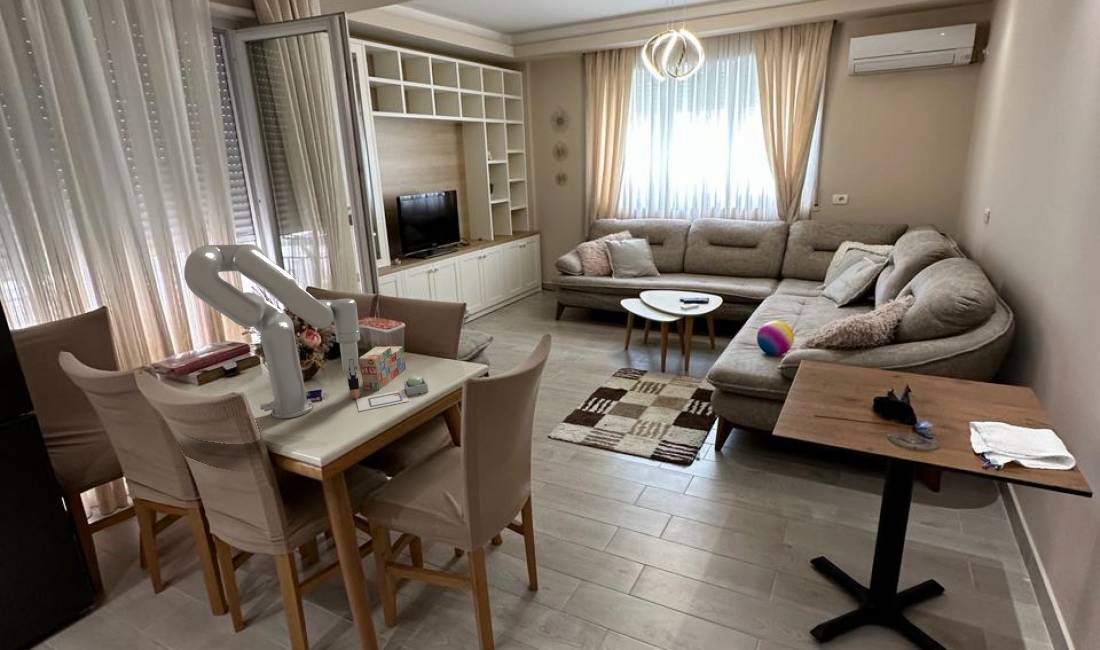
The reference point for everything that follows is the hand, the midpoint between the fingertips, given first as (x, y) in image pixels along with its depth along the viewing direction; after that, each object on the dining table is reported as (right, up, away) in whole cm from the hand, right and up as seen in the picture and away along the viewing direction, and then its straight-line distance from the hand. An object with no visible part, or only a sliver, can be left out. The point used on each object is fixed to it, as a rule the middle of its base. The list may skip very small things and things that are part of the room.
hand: (353, 386), depth 196 cm
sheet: (+10, -4, -2) cm, 12 cm away
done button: (+20, 0, +4) cm, 21 cm away
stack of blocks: (+6, +1, +17) cm, 18 cm away
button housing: (+20, -2, +5) cm, 21 cm away
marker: (0, -3, +1) cm, 4 cm away
